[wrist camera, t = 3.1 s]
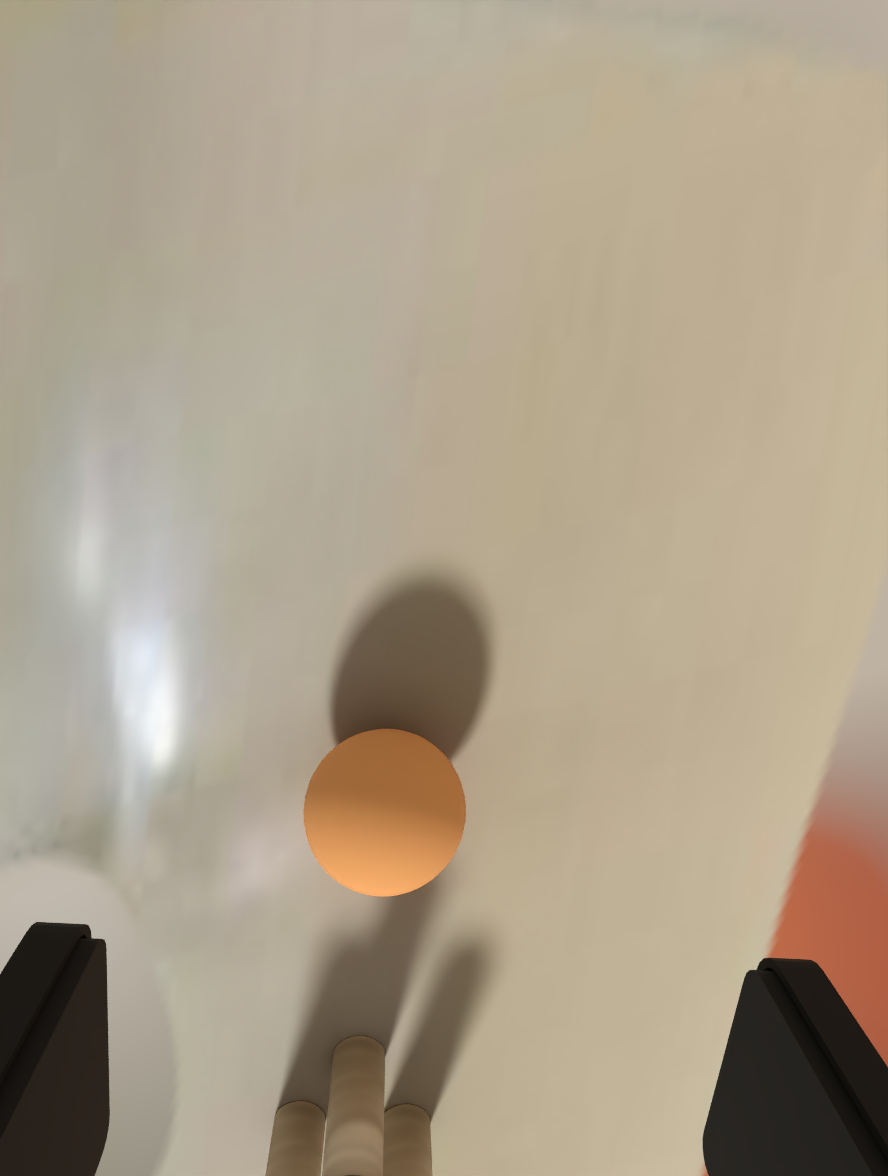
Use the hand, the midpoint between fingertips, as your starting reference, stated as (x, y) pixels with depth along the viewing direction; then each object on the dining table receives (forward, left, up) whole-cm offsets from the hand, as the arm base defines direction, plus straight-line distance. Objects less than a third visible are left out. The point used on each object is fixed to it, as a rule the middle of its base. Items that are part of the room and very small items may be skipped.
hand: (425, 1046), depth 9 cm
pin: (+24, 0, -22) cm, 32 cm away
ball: (+9, 0, -19) cm, 21 cm away
